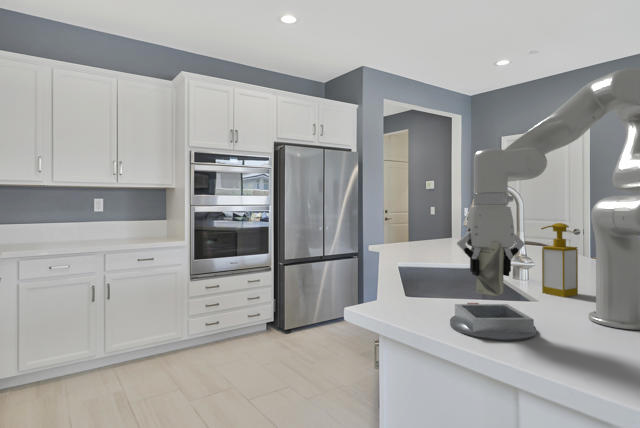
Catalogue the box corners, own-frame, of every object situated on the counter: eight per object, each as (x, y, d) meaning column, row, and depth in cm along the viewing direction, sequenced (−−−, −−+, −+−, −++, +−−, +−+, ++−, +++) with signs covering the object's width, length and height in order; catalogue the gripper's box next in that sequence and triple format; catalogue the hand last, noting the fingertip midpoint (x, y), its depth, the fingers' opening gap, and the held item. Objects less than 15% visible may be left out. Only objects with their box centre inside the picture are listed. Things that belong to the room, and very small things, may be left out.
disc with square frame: (507, 312, 105) (507, 298, 105) (553, 341, 82) (553, 323, 82) (437, 312, 106) (437, 298, 106) (464, 341, 83) (464, 323, 83)
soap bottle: (531, 294, 126) (531, 223, 125) (556, 290, 131) (555, 222, 130) (552, 299, 119) (552, 224, 119) (577, 294, 124) (577, 222, 124)
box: (475, 293, 92) (475, 240, 92) (483, 290, 96) (483, 239, 95) (498, 296, 89) (498, 241, 88) (505, 293, 92) (505, 240, 92)
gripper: (519, 201, 95) (519, 272, 95) (449, 201, 96) (449, 272, 96) (535, 200, 88) (534, 278, 88) (459, 201, 88) (458, 277, 89)
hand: (490, 274), depth 92 cm, fingers closed on box, 6 cm apart
